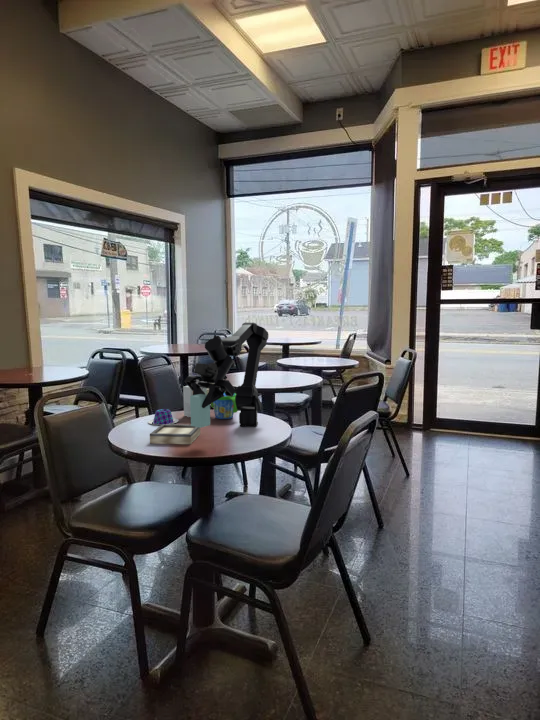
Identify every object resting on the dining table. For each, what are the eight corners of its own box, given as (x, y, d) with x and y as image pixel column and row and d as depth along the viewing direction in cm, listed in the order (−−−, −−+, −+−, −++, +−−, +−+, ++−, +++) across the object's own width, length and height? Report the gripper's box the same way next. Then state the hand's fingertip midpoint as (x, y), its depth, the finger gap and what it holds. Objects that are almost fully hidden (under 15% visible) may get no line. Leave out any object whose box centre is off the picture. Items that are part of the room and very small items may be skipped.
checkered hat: (164, 418, 198) (164, 406, 198) (184, 422, 191) (184, 409, 191) (141, 423, 189) (141, 411, 188) (162, 428, 182) (161, 414, 181)
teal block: (200, 423, 159) (199, 393, 158) (210, 425, 156) (209, 395, 155) (190, 425, 155) (190, 395, 154) (200, 427, 152) (200, 397, 151)
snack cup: (245, 419, 195) (245, 395, 194) (223, 423, 188) (223, 397, 188) (225, 413, 207) (224, 390, 206) (204, 416, 201) (203, 392, 200)
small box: (199, 413, 207) (198, 384, 206) (207, 415, 202) (207, 385, 201) (183, 416, 201) (182, 386, 200) (191, 418, 197) (191, 387, 196)
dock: (200, 433, 171) (200, 424, 171) (190, 444, 157) (190, 434, 157) (162, 433, 172) (162, 424, 172) (150, 443, 159) (149, 433, 158)
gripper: (187, 352, 162) (163, 388, 154) (228, 355, 151) (205, 394, 143) (204, 373, 169) (182, 408, 161) (244, 377, 158) (223, 415, 150)
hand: (197, 406), depth 154 cm, fingers closed on teal block, 4 cm apart
